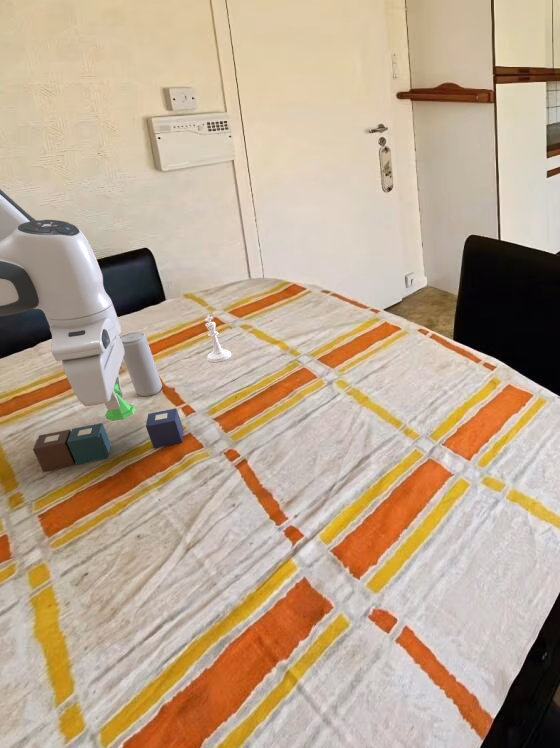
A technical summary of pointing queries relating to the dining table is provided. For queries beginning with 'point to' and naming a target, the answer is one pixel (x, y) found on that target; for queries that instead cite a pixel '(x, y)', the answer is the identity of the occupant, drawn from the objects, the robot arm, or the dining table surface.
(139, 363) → the beverage can
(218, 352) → the chess piece
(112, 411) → the game piece
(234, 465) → the dining table surface
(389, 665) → the dining table surface
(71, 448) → the letter blocks
